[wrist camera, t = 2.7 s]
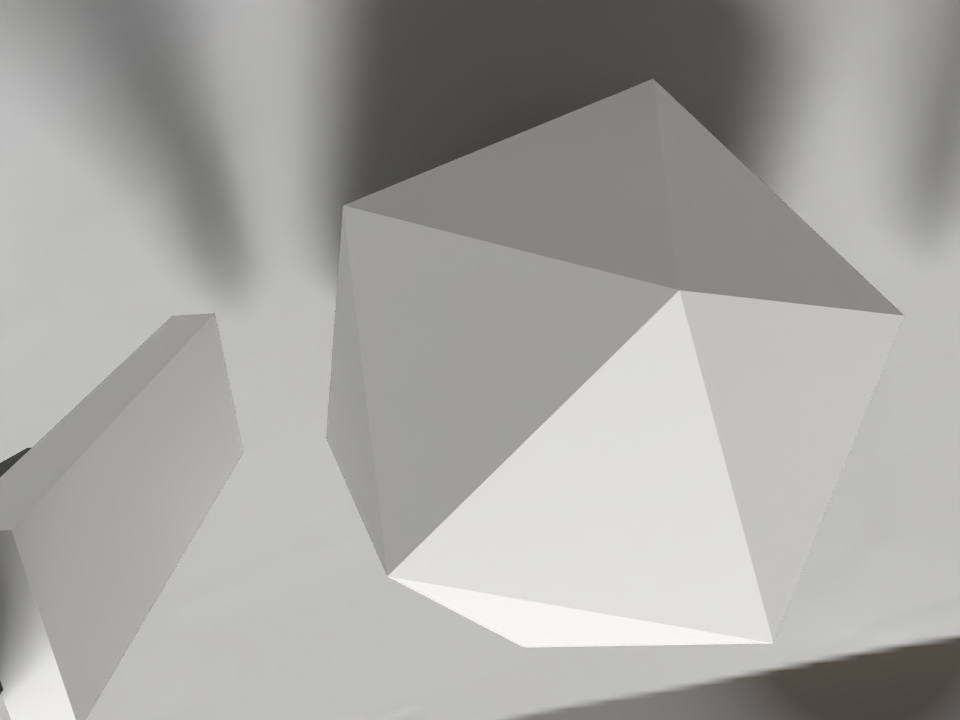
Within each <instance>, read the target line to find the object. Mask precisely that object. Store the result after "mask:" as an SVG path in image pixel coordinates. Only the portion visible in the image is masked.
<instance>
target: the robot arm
mask: <svg viewBox="0 0 960 720" xmlns="http://www.w3.org/2000/svg"><path fill="white" fill-rule="evenodd" d="M243 452H244V451H243V446H242V441H241V437H240V432H239V427H238V422H237V417H236V412H235V408H234V403H233V398H232V393H231V388H230V383H229V379H228V374H227V369H226V364H225V359H224V354H223V350H222V345H221V340H220V335H219V330H218V325H217V321H216V316H215V313H212V314H196V315H180V316H172V317H171V318H170V319H169V320H167V321H166V322H165V323H164V324H163V325H162V326H161V327H160V328H159V329H158V330H157V331H156V332H155V333H154V334H153V335H151V336H150V337H149V338H148V339H147V340H146V341H145V342H144V343H143V344H142V345H141V346H140V347H139V348H138V349H137V350H136V351H134V352H133V353H132V354H131V355H130V356H129V357H128V358H127V359H126V360H125V361H124V362H123V363H122V364H121V365H120V366H118V367H117V368H116V369H115V370H114V371H113V372H112V373H111V374H110V375H109V376H108V377H107V378H106V379H105V380H104V381H102V382H101V383H100V384H99V385H98V386H97V387H96V388H95V389H94V390H93V391H92V392H91V393H90V394H89V395H88V396H87V397H85V398H84V399H83V400H82V401H81V402H80V403H79V404H78V405H77V406H76V407H75V408H74V409H73V410H72V411H71V412H69V413H68V414H67V415H66V416H65V417H64V418H63V419H62V420H61V421H60V422H59V423H58V424H57V425H56V426H55V427H53V428H52V429H51V430H50V431H49V432H48V433H47V434H46V435H45V436H44V437H43V438H42V439H41V440H40V441H39V442H37V443H36V444H35V445H34V446H33V447H32V448H26V449H25V450H23V451H21V452H19V453H17V454H16V455H14V456H12V457H10V458H8V459H7V460H5V461H3V462H1V463H0V694H2V697H3V700H4V702H5V705H6V708H7V710H8V713H9V715H10V718H11V720H86V718H87V717H88V715H89V713H90V711H91V710H92V708H93V706H94V705H95V703H96V701H97V700H98V698H99V696H100V694H101V693H102V691H103V689H104V688H105V686H106V684H107V683H108V681H109V679H110V678H111V676H112V674H113V672H114V671H115V669H116V667H117V666H118V664H119V662H120V661H121V659H122V657H123V655H124V654H125V652H126V650H127V649H128V647H129V645H130V644H131V642H132V640H133V639H134V637H135V635H136V633H137V632H138V630H139V628H140V627H141V625H142V623H143V622H144V620H145V618H146V616H147V615H148V613H149V611H150V610H151V608H152V606H153V605H154V603H155V601H156V600H157V598H158V596H159V594H160V593H161V591H162V589H163V588H164V586H165V584H166V583H167V581H168V579H169V577H170V576H171V574H172V572H173V571H174V569H175V567H176V566H177V564H178V562H179V561H180V559H181V557H182V555H183V554H184V552H185V550H186V549H187V547H188V545H189V544H190V542H191V540H192V538H193V537H194V535H195V533H196V532H197V530H198V528H199V527H200V525H201V523H202V522H203V520H204V518H205V516H206V515H207V513H208V511H209V510H210V508H211V506H212V505H213V503H214V501H215V499H216V498H217V496H218V494H219V493H220V491H221V489H222V488H223V486H224V484H225V483H226V481H227V479H228V477H229V476H230V474H231V472H232V471H233V469H234V467H235V466H236V464H237V462H238V460H239V459H240V457H241V455H242V454H243Z"/></svg>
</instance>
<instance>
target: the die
mask: <svg viewBox="0 0 960 720" xmlns="http://www.w3.org/2000/svg"><path fill="white" fill-rule="evenodd" d="M903 318H904V315H903V314H902V313H901V312H900V311H899V310H898V309H897V308H896V307H895V306H894V305H893V304H892V303H890V302H889V301H888V300H887V299H886V298H885V297H884V296H883V295H882V294H881V293H880V292H879V291H878V290H877V289H876V288H875V287H874V286H872V285H871V284H870V283H869V282H868V281H867V280H866V279H865V278H864V277H863V276H862V275H861V274H860V273H859V272H858V271H857V270H856V269H854V268H853V267H852V266H851V265H850V264H849V263H848V262H847V261H846V260H845V259H844V258H843V257H842V256H841V255H840V254H839V253H837V252H836V251H835V250H834V249H833V248H832V247H831V246H830V245H829V244H828V243H827V242H826V241H825V240H824V239H823V238H822V237H821V236H819V235H818V234H817V233H816V232H815V231H814V230H813V229H812V228H811V227H810V226H809V225H808V224H807V223H806V222H805V221H804V220H803V219H801V218H800V217H799V216H798V215H797V214H796V213H795V212H794V211H793V210H792V209H791V208H790V207H789V206H788V205H787V204H786V203H784V202H783V201H782V200H781V199H780V198H779V197H778V196H777V195H776V194H775V193H774V192H773V191H772V190H771V189H770V188H769V187H768V186H766V185H765V184H764V183H763V182H762V181H761V180H760V179H759V178H758V177H757V176H756V175H755V174H754V173H753V172H752V171H751V170H749V169H748V168H747V167H746V166H745V165H744V164H743V163H742V162H741V161H740V160H739V159H738V158H737V157H736V156H735V155H734V154H733V153H731V152H730V151H729V150H728V149H727V148H726V147H725V146H724V145H723V144H722V143H721V142H720V141H719V140H718V139H717V138H716V137H715V136H713V135H712V134H711V133H710V132H709V131H708V130H707V129H706V128H705V127H704V126H703V125H702V124H701V123H700V122H699V121H698V120H696V119H695V118H694V117H693V116H692V115H691V114H690V113H689V112H688V111H687V110H686V109H685V108H684V107H683V106H682V105H681V104H680V103H678V102H677V101H676V100H675V99H674V98H673V97H672V96H671V95H670V94H669V93H668V92H667V91H666V90H665V89H664V88H663V87H662V86H660V85H659V84H658V83H657V82H656V81H655V80H654V79H651V80H648V81H646V82H644V83H641V84H639V85H636V86H634V87H631V88H629V89H627V90H624V91H622V92H619V93H617V94H614V95H612V96H609V97H607V98H605V99H602V100H600V101H597V102H595V103H592V104H590V105H587V106H585V107H583V108H580V109H578V110H575V111H573V112H570V113H568V114H565V115H563V116H561V117H558V118H556V119H553V120H551V121H548V122H546V123H543V124H541V125H539V126H536V127H534V128H531V129H529V130H526V131H524V132H521V133H519V134H517V135H514V136H512V137H509V138H507V139H504V140H502V141H499V142H497V143H495V144H492V145H490V146H487V147H485V148H482V149H480V150H477V151H475V152H473V153H470V154H468V155H465V156H463V157H460V158H458V159H455V160H453V161H451V162H448V163H446V164H443V165H441V166H438V167H436V168H433V169H431V170H429V171H426V172H424V173H421V174H419V175H416V176H414V177H411V178H409V179H407V180H404V181H402V182H399V183H397V184H394V185H392V186H389V187H387V188H385V189H382V190H380V191H377V192H375V193H372V194H370V195H367V196H365V197H363V198H360V199H358V200H355V201H353V202H350V203H348V204H345V205H343V213H342V227H341V241H340V254H339V268H338V282H337V296H336V309H335V323H334V337H333V350H332V364H331V378H330V392H329V405H328V419H327V433H326V439H327V441H328V443H329V446H330V448H331V450H332V452H333V455H334V457H335V459H336V461H337V464H338V466H339V468H340V470H341V473H342V475H343V477H344V479H345V482H346V484H347V486H348V489H349V491H350V493H351V495H352V498H353V500H354V502H355V504H356V507H357V509H358V511H359V513H360V516H361V518H362V520H363V522H364V525H365V527H366V529H367V531H368V534H369V536H370V538H371V540H372V543H373V545H374V547H375V549H376V552H377V554H378V556H379V559H380V561H381V563H382V565H383V568H384V570H385V572H386V574H387V576H388V577H390V578H391V579H393V580H395V581H397V582H399V583H401V584H403V585H405V586H407V587H409V588H411V589H413V590H414V591H416V592H418V593H420V594H422V595H424V596H426V597H428V598H430V599H432V600H434V601H436V602H437V603H439V604H441V605H443V606H445V607H447V608H449V609H451V610H453V611H455V612H457V613H459V614H460V615H462V616H464V617H466V618H468V619H470V620H472V621H474V622H476V623H478V624H480V625H482V626H483V627H485V628H487V629H489V630H491V631H493V632H495V633H497V634H499V635H501V636H503V637H505V638H506V639H508V640H510V641H512V642H514V643H516V644H518V645H520V646H522V647H576V646H636V645H696V644H756V643H774V641H775V638H776V636H777V633H778V631H779V628H780V626H781V623H782V621H783V618H784V616H785V613H786V611H787V608H788V606H789V603H790V601H791V598H792V596H793V593H794V591H795V588H796V586H797V583H798V581H799V578H800V576H801V573H802V571H803V568H804V566H805V563H806V561H807V558H808V556H809V553H810V551H811V548H812V546H813V543H814V541H815V538H816V536H817V533H818V531H819V528H820V526H821V523H822V521H823V518H824V516H825V513H826V511H827V508H828V506H829V503H830V501H831V498H832V496H833V493H834V491H835V488H836V486H837V483H838V481H839V478H840V476H841V473H842V471H843V468H844V466H845V463H846V461H847V458H848V456H849V453H850V451H851V448H852V446H853V443H854V441H855V438H856V436H857V433H858V431H859V428H860V426H861V423H862V421H863V418H864V416H865V413H866V411H867V408H868V406H869V403H870V401H871V398H872V396H873V393H874V391H875V388H876V386H877V383H878V381H879V378H880V376H881V373H882V371H883V368H884V366H885V363H886V361H887V358H888V356H889V353H890V351H891V348H892V346H893V343H894V341H895V338H896V336H897V333H898V331H899V328H900V326H901V323H902V321H903Z"/></svg>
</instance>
